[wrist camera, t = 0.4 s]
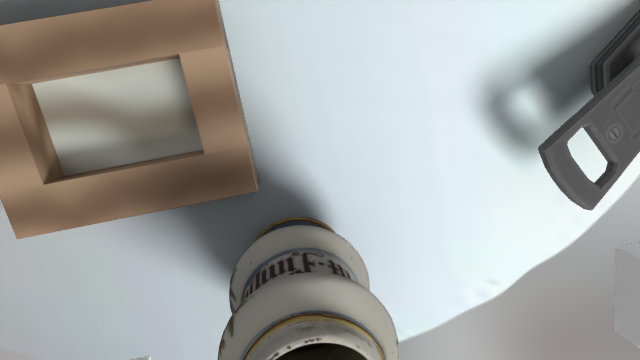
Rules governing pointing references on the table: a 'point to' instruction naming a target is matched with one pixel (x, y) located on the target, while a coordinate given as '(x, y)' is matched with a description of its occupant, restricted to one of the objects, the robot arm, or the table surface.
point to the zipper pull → (602, 121)
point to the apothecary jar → (304, 300)
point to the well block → (119, 115)
